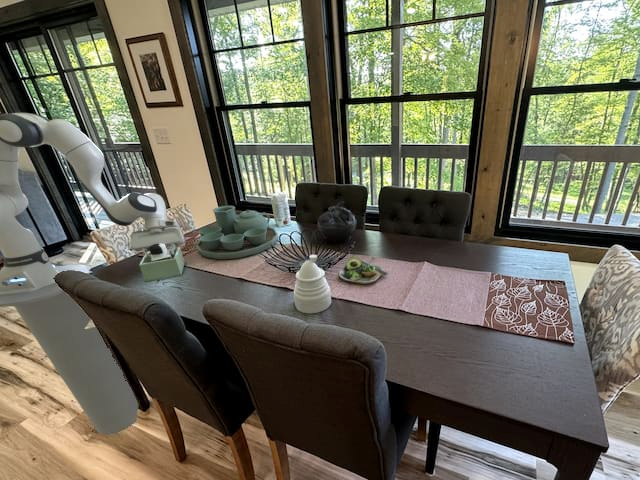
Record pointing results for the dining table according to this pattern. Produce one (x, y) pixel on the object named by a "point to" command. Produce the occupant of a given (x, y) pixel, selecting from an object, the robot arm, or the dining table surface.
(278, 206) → the white ribbed cylinder
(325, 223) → the coal bowl
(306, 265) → the honey pot
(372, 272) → the salad plate
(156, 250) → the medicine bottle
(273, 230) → the tea set
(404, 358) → the dining table surface
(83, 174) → the robot arm
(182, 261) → the bin
